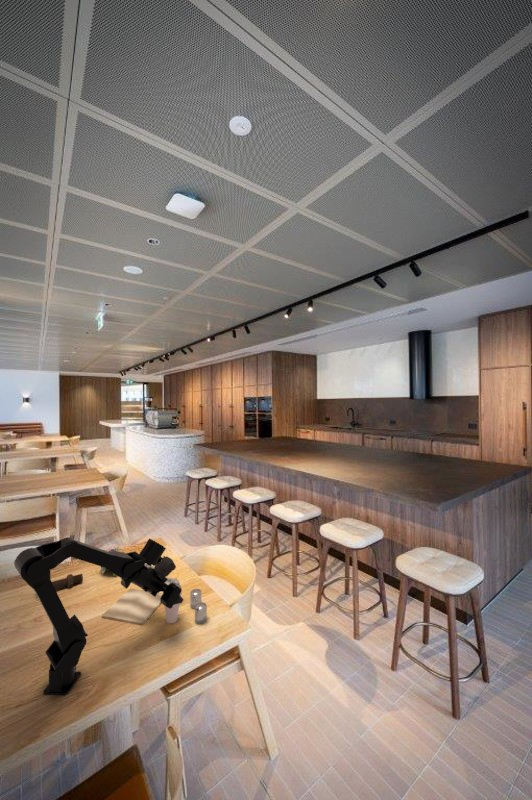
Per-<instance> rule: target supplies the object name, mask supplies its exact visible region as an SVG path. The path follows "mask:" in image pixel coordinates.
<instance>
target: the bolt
mask: <svg viewBox="0 0 532 800" xmlns="http://www.w3.org/2000/svg"><path fill="white" fill-rule="evenodd" d="M83 580H84V576H83V573H79V574H76V575H73V574H72V573H70V574H68V575H66V577H65V578H63V577H62V578H61V579H59V578H58V579H57V580H53V581H52V580H51V582H52V584H53V586H54V588H55V590H57V589H61V588H65V587H66V588H67V589H70V587H71V588H72V587H73V586H74V585H76V584H80V583H82V582H83Z"/></svg>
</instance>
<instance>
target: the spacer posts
mask: <svg viewBox="0 0 532 800" xmlns="http://www.w3.org/2000/svg"><path fill="white" fill-rule="evenodd" d="M177 586H178V587H180V588H181V589H182V586H181V585H180V584H179V585H177ZM189 595H190V596H189V597H190V598H189V599H190V603H189V605H190V609H191V610H194V623H195V624H196V625H203V624H205V623H206V622H207V620H208V619H207V617H208V616H207V615H208V613H207V611H208V606H207V605H208V604H207V603H205V602H202V590H201V589H200V588H194V589H192V590H191V591H190V594H189Z"/></svg>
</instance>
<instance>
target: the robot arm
mask: <svg viewBox="0 0 532 800" xmlns="http://www.w3.org/2000/svg"><path fill="white" fill-rule="evenodd" d="M166 550H167V548H166V547H165V546H164V545H162V544H160V543H158V542H157V541H155V540H153V539H152V538H148V539H147V541H146V543H145V545H144V546H143V547H142V548H141V551H140V552H137V551H131V552H123V551H118V552H117V551H113V552H109V551H107V550H104V549H102V548H98V547H96V546H93V545H90V544H87V543H84V542H81V541H79V540H76V539H74V538H73V537H69V536H68V537H64V538H61V539H58V540H56V541H53V542H52V541H51V542H47V543H44V544H40V545H39V546H35V547H30V548H25V549H24V550H22V551H21V552H20V553H19V554H18V555H17V556H16V558H15V559H14V562H13V563H14V568H15V569H16V571H17V572H18V574H19V575H20V577H21V579H23V580H24V581H25V582H26V584H27V585H28V586H29V587H30V588H31V589H33V591H34V592H35V595H36V596H37V599H38V600H39V602H40V604H41V606H42V608H43V610H44V612H45V613H46V616H47V618H48V620H49V621H50V623H51V626H52V634H53V639H54V640H53V641H52V643H51V644H50V645H49V646H48V647H47V649H46V651H45V655H46V657H47V658H48V660H49V662H50V664H49V669H48V684H47V685H46V687H45V688H44V690H43V692H42V694H43V695H44V694H45V695H60V696H61V695H62V696H66V695H68V694H69V692H70V690H71V689H72V688H73V686H75V684H76V682H77V681H78V680H79V678H80V676H81V675H82V671H77V665H79V662H80V660H81V659H80V658H81V655H82V652H83V650H84V649H85V646H86V645H87V638H86V637H88V636H89V634H88V633H87V632H86V630H85V629H84V625H83V623H82V622H81V620H80V619H79V618H78V616H77V615H76V614H73V615H72V616H71V617H69V614H68V613H67V611H66V608H65V606H64V605H63V602H62V600H61V598H60V596H59V595H58V592H57V591H56V590H57V589H55V588H54V586H53V584H52V579H51V578H52V575H51V574H52V573H51V571H52V570H53V569H55V568H56V567H58V566H60V564H61V563H63V562H64V561H66V560H67V559H69V558H73V559H76V560H80V561H82V562H86V563H89V564H92V565H96V566H97V567H100V568H101V567H104V568H106V569H107V571H109V572H111V574H113V573H114V574H115V575H116V577H117V576H118V577H119V578H120V579H121V580H120V585H121V586H122V587H123V588H124V589H125V590H126V589H128V588H129V587H130V585H131V584H133V585H135V586H137V587H138V588H140V589H141V590H143V591H146V592H149V593H150V594H152V595H153V596H156V595H157V593H160V592H162V594H163V595H162V596H161V598H160V602H161V604H162V605H163V606H164V605H165V606H166V607H167V608H169V609H170V608H172V607H173V605H175V604H179V605H180V604H182V603H183V601H184V598H183V597H182V595H181V596H180V593H181V592H182V591H183V589H182V587H181V588H180V587H178V586H177V585H176V584H174V583H170V584H169V585H167V584H166V583H164V582H166V581H167V578H166V577H168V576H169V575H170V574H171V573H172V572H173V571H174V570H176V569H177V567H176V564H175V562H174V560H173V559H172V558H170V557H169V556H165V555H163V554H164V553H165V551H166ZM162 555H163V557H162ZM145 564H148V565H149V566H151V565H152V566H153V567H154V568H151V567H146V566H145ZM163 592H164V593H163ZM165 606H164V607H165Z"/></svg>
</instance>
